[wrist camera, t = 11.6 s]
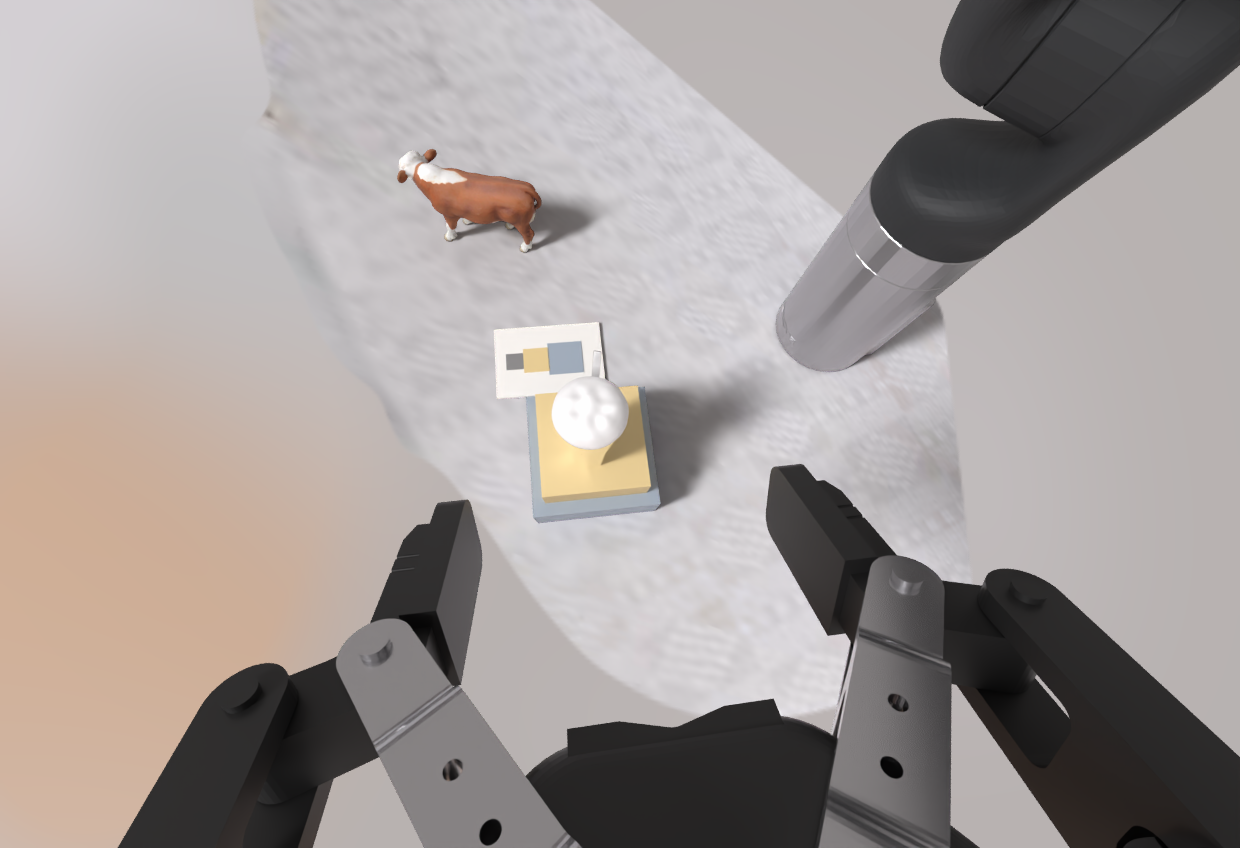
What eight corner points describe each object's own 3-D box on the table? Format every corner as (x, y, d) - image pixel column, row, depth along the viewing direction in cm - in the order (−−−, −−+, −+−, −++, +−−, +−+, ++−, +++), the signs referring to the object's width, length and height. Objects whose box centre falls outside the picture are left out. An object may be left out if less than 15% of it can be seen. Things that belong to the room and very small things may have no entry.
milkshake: (625, 412, 38) (637, 356, 28) (616, 480, 36) (625, 445, 27) (566, 403, 38) (558, 345, 28) (555, 471, 36) (542, 433, 27)
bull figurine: (423, 200, 51) (394, 132, 43) (549, 228, 51) (542, 165, 43) (409, 234, 50) (375, 170, 42) (538, 263, 49) (529, 204, 42)
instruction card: (598, 323, 48) (598, 321, 47) (606, 390, 46) (606, 389, 45) (494, 331, 47) (493, 329, 46) (497, 399, 45) (496, 398, 44)
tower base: (640, 402, 46) (648, 372, 39) (654, 510, 43) (666, 498, 36) (531, 412, 45) (521, 383, 38) (538, 523, 42) (528, 512, 35)
